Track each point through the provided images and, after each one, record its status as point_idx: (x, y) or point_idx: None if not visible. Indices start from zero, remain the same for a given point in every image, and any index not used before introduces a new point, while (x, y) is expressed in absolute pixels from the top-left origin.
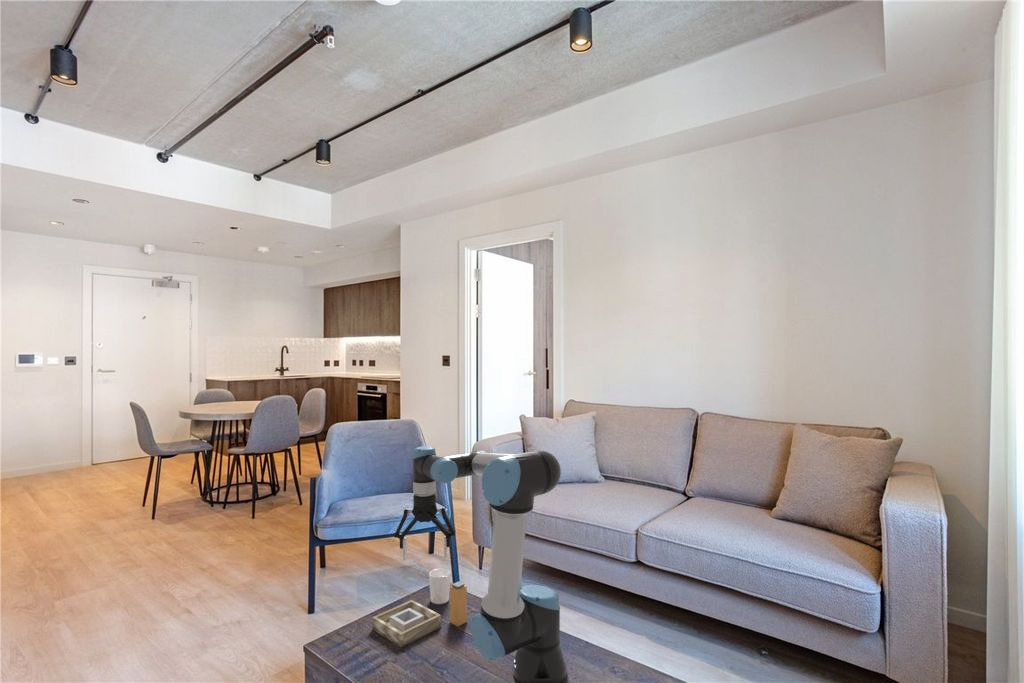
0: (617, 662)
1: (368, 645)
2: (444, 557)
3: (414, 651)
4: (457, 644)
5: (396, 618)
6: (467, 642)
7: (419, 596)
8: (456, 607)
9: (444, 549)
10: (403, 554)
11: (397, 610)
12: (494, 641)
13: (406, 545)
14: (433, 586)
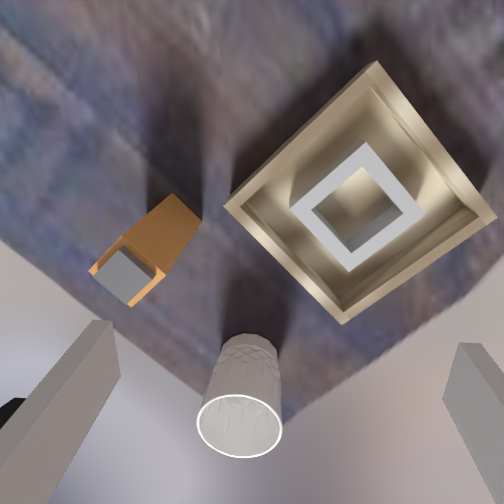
0: None
1: (492, 93)
2: (106, 324)
3: (313, 33)
4: (159, 72)
5: (398, 198)
6: (125, 83)
7: (316, 384)
8: (158, 216)
9: (68, 372)
10: (501, 376)
11: (392, 271)
12: None
13: (491, 491)
14: (264, 374)
